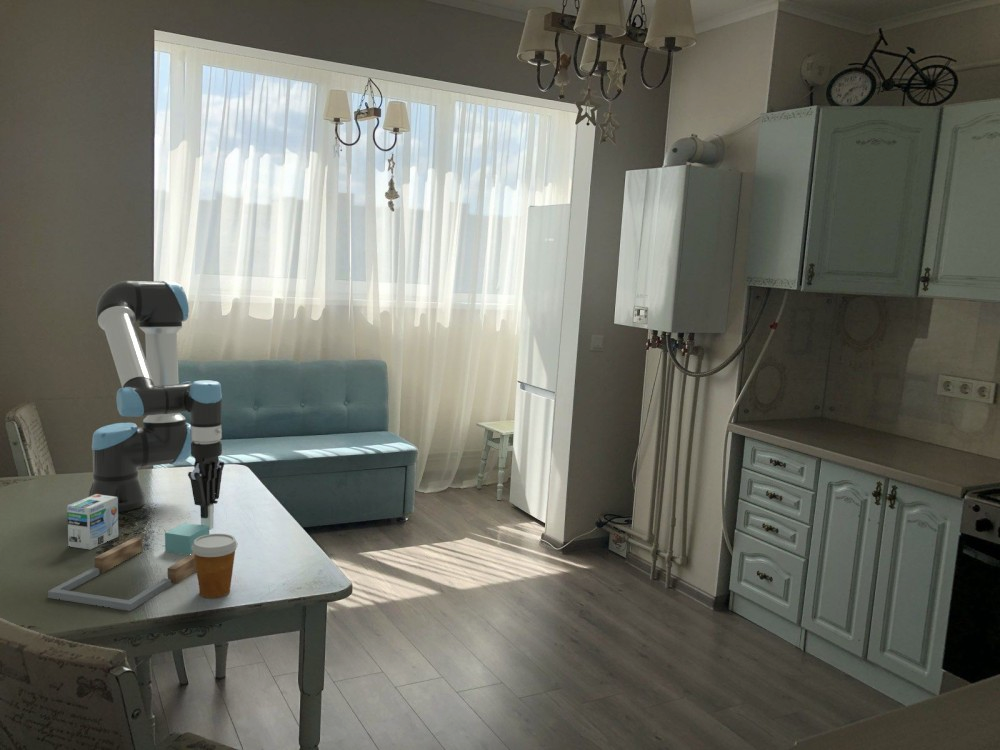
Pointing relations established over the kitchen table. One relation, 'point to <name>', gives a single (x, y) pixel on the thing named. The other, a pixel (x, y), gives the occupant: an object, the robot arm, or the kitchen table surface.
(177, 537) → the teal block
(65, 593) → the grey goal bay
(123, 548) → the wooden guide rails
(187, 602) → the kitchen table surface
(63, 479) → the kitchen table surface
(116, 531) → the light bulb box
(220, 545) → the disposable coffee cup
